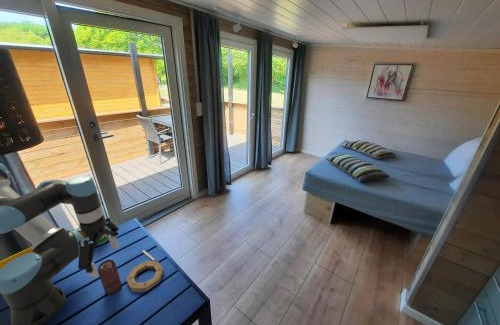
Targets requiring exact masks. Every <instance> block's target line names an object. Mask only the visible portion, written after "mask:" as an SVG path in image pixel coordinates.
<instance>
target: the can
mask: <svg viewBox="0 0 500 325" xmlns="http://www.w3.org/2000/svg"><path fill="white" fill-rule="evenodd" d="M118 271H119V270H118V267H117V264H116V262H115V261H114V260H113V259H107V260H105V261H103V262H101V263H100V264H99V265H98V268H97V272H98V275H99V276H98V277H99V279H100V281H101V285H102V286H103V287H102V288H103V290H104V294H106V295H108V296H112V295H115V294H117V293H118V292H119V291H120V290H121V288H122V280H121V278H120V274H119V272H118Z"/></svg>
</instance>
